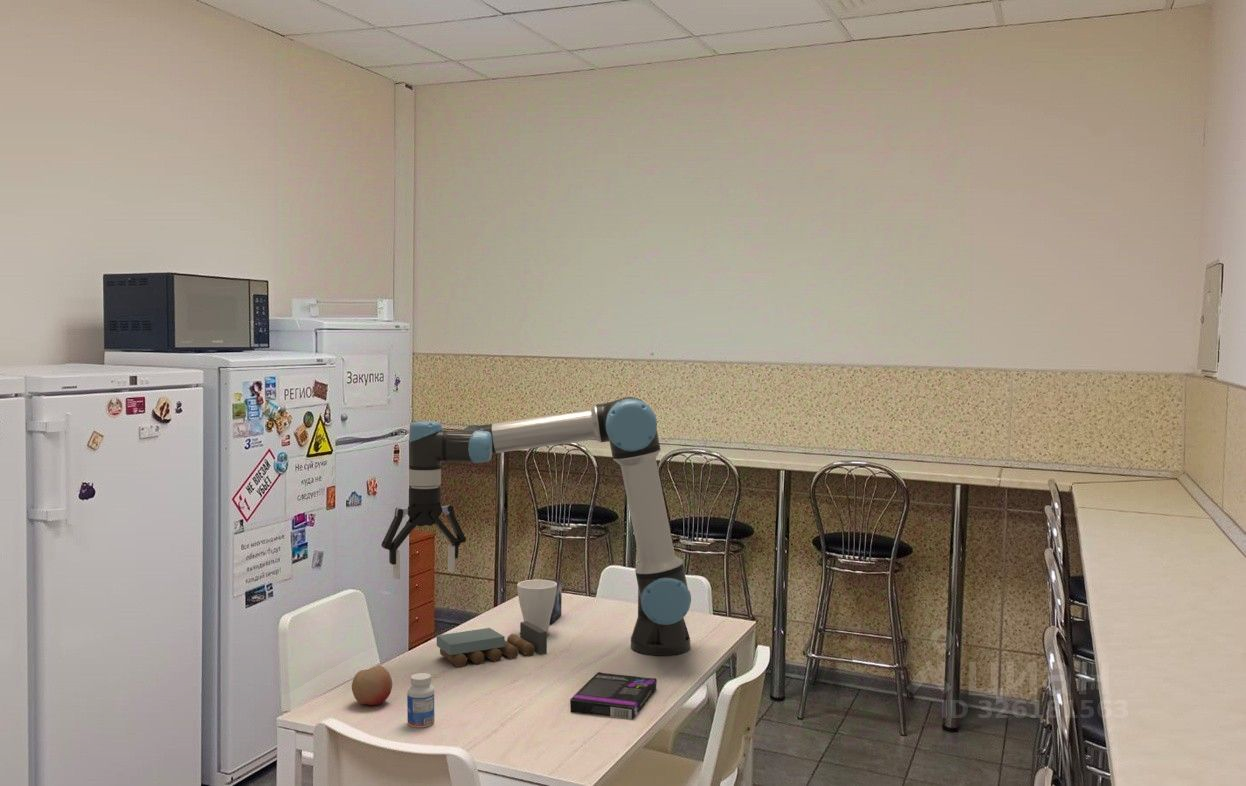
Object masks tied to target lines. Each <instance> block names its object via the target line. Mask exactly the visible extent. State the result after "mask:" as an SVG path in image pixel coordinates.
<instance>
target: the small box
mask: <svg viewBox="0 0 1246 786" xmlns="http://www.w3.org/2000/svg"><path fill="white" fill-rule="evenodd" d="M540 580H550V581H554V582H556V583H557V590H556V597H555V602H554V607H553V610H552V614H551V618H550V623H549V626H550V625H553V624H554V623H555V622H556V621H558V619H559V618H560V617H561V616H562V603H563V601H562V600H563V599H562V593H563V591H562V590H563V588H562V587H563V585H562V584H563V580H562V579H555V578H554V579H553V578H545V577H544V578H543V577H542V578H541V579H540Z"/></svg>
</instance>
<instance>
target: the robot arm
mask: <svg viewBox="0 0 1246 786" xmlns="http://www.w3.org/2000/svg"><path fill="white" fill-rule="evenodd" d="M657 426H658V423H657V417H656V415H655V412H654V411H653V409H652V407H650V406H649V405H648V404H647V403H646V402H644V401H643V400H642V399H640V398H637V397H633V396H628V397H627V396H626V397H623V398H619V399H616V400H613V401H609V402H605V403H599V404H594V405H593V407H592V408H590V409H586V410H585V409H583V410H578V411H570V412H564V413H557V414H551V415H542V416H535V417H529V418H523V419H522V418H521V419H515V420H508V421H500V422H496V423H495V422H494V423H490V424H486V423H485V424H481V425H480V424H479V425H477V424H473V425H468V426H466V427H464V429H462V430H448V429H443V428H442V423H441V422H439V421H432V420H431V421H429V420H427V421H425V420H424V421H422V420H421V421H415V422H412V423H411V424H410V425H409V433H408V434H409V436H408V437H409V438H408V439H409V440H408V485H409V486H410V487H409V488H408V506H407V508H401V507H396V508H395V509H394V517H393V519H392V521H391V524H390V526H389V527H388V530H387V532H386V533H385V536H384V538H383V540H382V541H381V544H380V545H381V547H382V548H383V549H385V550H388V552H389V553H388V555H389V556H388V557H389V559H388V561H389V563H390V565H392V567H393V568H392V578H394V579H396V580H400V578H401V551H400V550H398V549H399V548H400V546H401V545H402V544H403V542H404V541H405V539H407V537H408V536H409V535H410V534H411V532H412V531H413V530H414V529H416V527H424V526H429V527H430V526H433V525H435V526H436V527H437V528H438V529H439V531H440V532H441V533H442V534H443V535H444V537H445V538H446V539H447V540H448V541H449V544H447V572H449V573H451V574H455V573H456V572H455V571H456V570H455V569H456V563H455V561H456V559H458V558H459V546H461V544H463V543H466V541H467V538H466V536H465V534H464V532H463V530H462V527H461V525H460V524H459V522H458V519H457V517H456V516H455V508H454V506H453V505H451V504H449V503H447V504H446V505H443V506H441V500H442V496H441V495H442V494H441V493H442V489H441V487H440V486H441V484H442V470H441V468H442V462H444V463H449V462H451V463H452V462H453V463H474V464H478V463H488V462H490V461H491V460H492V455H494V454H501V453H507V452H514V451H522V450H529V449H535V448H537V449H538V448H541V447H542V448H543V447H550V446H558V445H564V444H572V443H580V442H584V441H585V442H586V441H593V440H594V441H597V442H598V443H600V444H601V443H606V442H609V446H610V451H611V455H612V460H613V461H614V462H616V463H617V464H618V465H620V468H621V475H622V479H623V484H624V490H625V494H626V499H627V505H628V510H629V515H630V521H631V524H632V529H633V535H634V538H635V539H634V540H635V545H636V548H637V554H638V563H637V564H638V565H637V566H636V568H635V569H634V573H635V577H636V581H637V619H636V621H635V625H634V627H633V631H632V634H631V635H630V649H632V650H633V651H635V652H637V653H640V654H643V655H649V656H674V655H679V654H684V653H686V652H688V651H689V650H690V649H691V637H690V634H689V630H688V628H687V625H686V622H685V616H686V615H687V614H688V613H689V610H690V608H691V602H692V595H691V591H690V590H689V587H688V583H687V577H686V573H685V570H686V567H685V562H684V560H683V558H681V557H678V556H677V555H676V554H675V549H674V544H673V540H672V534H671V528H670V524H669V523H670V522H669V519H668V515H667V508H666V503H665V498H664V493H663V487H662V483H661V478H660V473H659V472H660V471H659V468H658V462H657V457H658V455H659V454H660V452H661V450H662V449H661V445H660V444H661V443H660V439H659V434H658V430H657V429H658V427H657ZM442 513H443V514H444V515H446V517H447V519H448V522H449V523H450V526H451V528H452V530H453V532H454V534H455V535H454V534H453V533H452V532H451V530H449V529H448V527H447V526H446V525H445V524H444V522H443V520H441V519H440V517H441V514H442ZM406 515H408V517H409V519H407V521H406V523H405V525H404V526H403V527H402V528H401V530H400V531H399V532H398V530H399V528H400V525H401V524H402V522H403V519H404V518H405V517H406ZM397 532H398V534H397ZM396 534H397V535H396ZM395 536H396V537H395ZM450 543H451V544H450Z"/></svg>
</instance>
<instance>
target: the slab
mask: <svg viewBox="0 0 1246 786" xmlns="http://www.w3.org/2000/svg"><path fill="white" fill-rule="evenodd" d="M505 638H506V637H505V635H503V634H502V633H499V632H498V631H496V630H494V629H492V628H491V627H486V628H479V629H472V630H465V631H459V632H453V633H445V634H444V633H443V634H438V635H436V647H438V648H439V649H440V648H441V649H442V650H444V651H445V652H446V653H448V654H449V655H455V654H462V653H468V652H474V651H481V650H487V649H493V648H500V647H505V641H506V639H505Z"/></svg>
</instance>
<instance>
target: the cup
mask: <svg viewBox="0 0 1246 786" xmlns="http://www.w3.org/2000/svg"><path fill="white" fill-rule="evenodd" d="M516 586H517V596H518V604H519V607H520V611H521V614H522V619H523V622H529V623H531V624H533V625H535V626H537V627H539V628H541V629H543V630H545V631H546V632H547V636H548V635H549V632H550V631H549V629H550V625H549V623H550V618H551V614H552V610H553V607H554V602H555V597H556V590H557V583H556V582H554V581H550V580H541V579H527V580H522V581H519V582H518V583H517V585H516Z"/></svg>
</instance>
